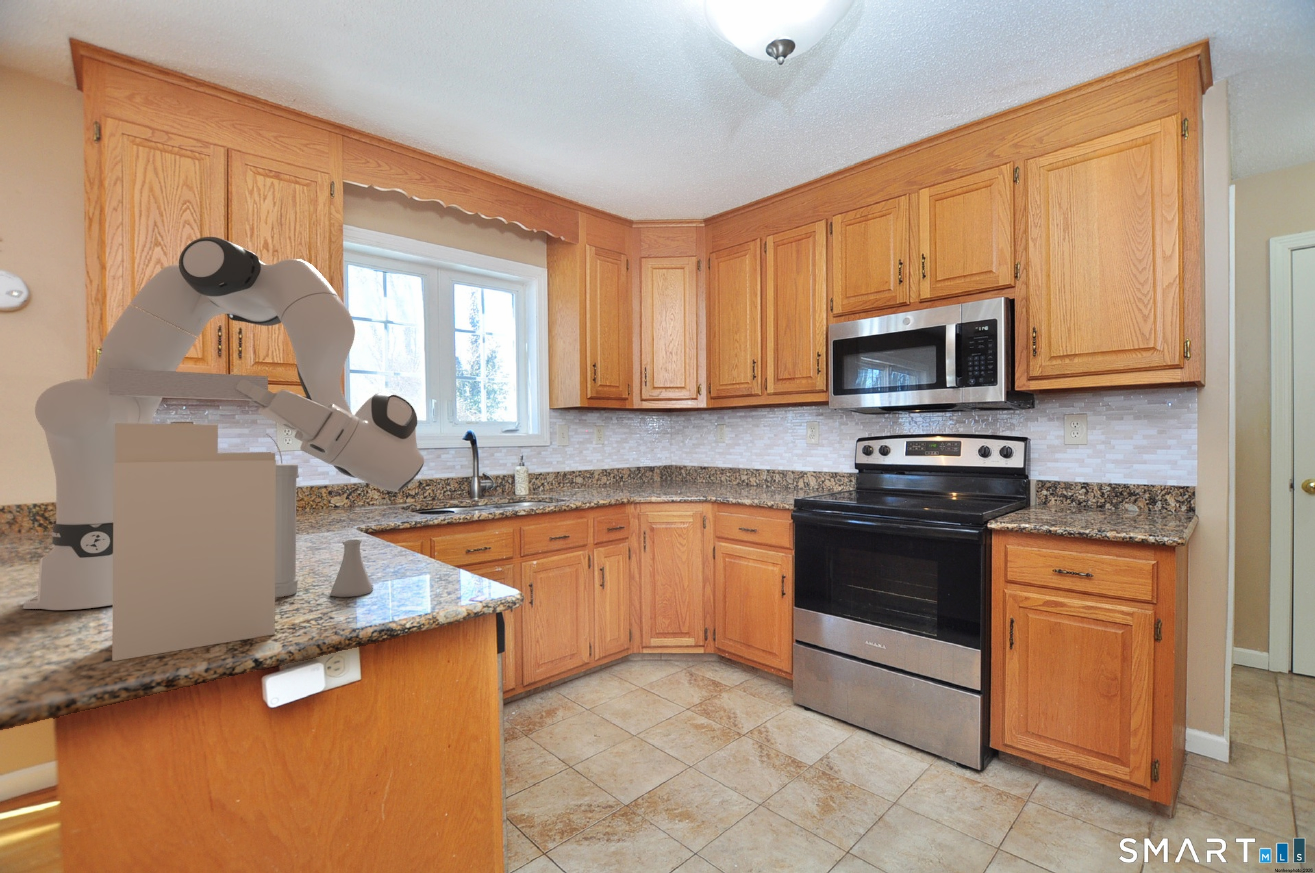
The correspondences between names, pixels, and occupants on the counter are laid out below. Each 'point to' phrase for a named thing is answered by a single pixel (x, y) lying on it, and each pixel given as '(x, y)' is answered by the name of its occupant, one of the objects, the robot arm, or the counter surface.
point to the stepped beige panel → (190, 540)
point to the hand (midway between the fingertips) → (237, 384)
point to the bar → (179, 384)
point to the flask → (351, 572)
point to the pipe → (285, 529)
